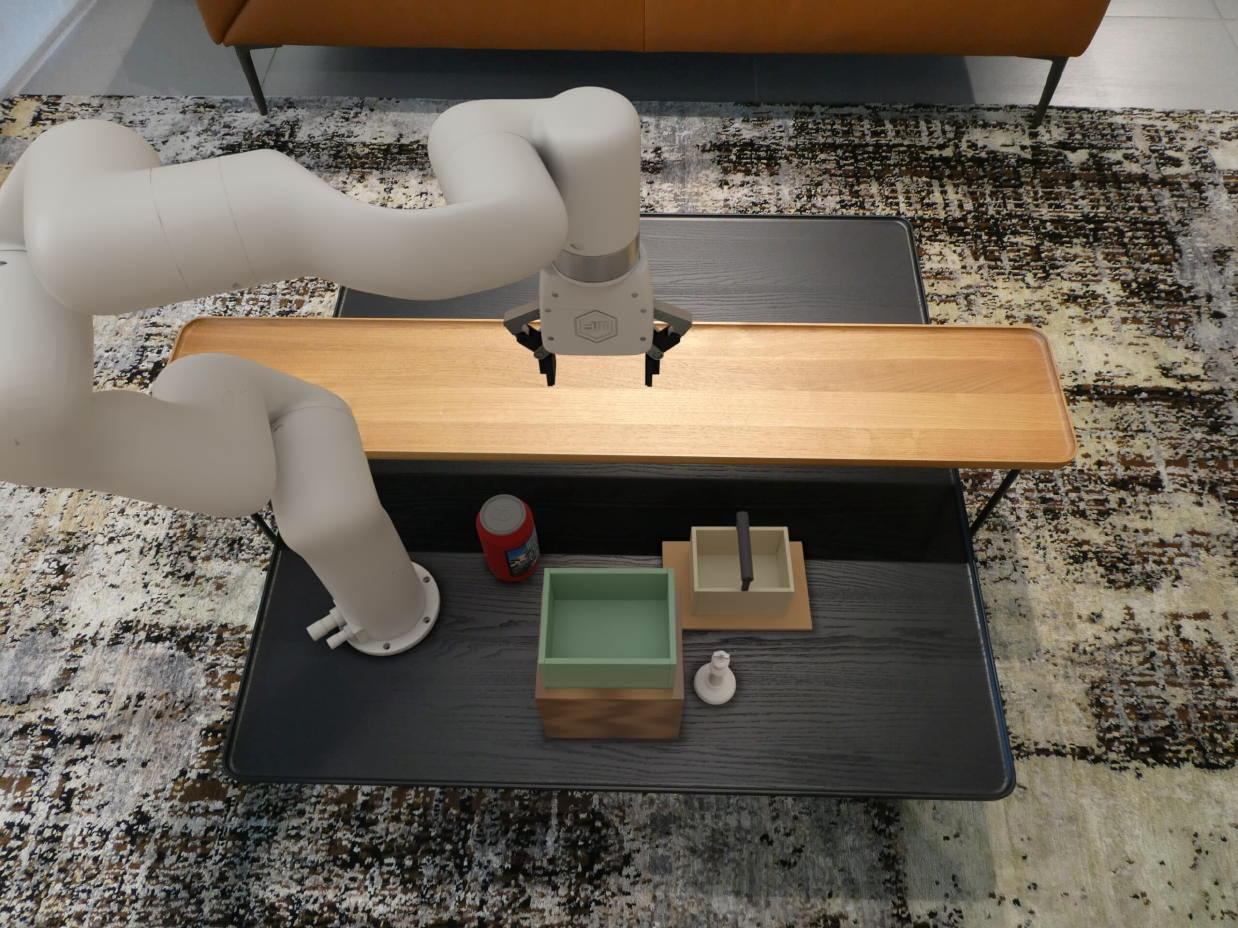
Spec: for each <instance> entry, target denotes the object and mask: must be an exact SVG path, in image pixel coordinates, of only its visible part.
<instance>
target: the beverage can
mask: <svg viewBox="0 0 1238 928" xmlns="http://www.w3.org/2000/svg"><path fill="white" fill-rule="evenodd" d="M475 526H476V530H477V534H478V538H479V541H480V543H481V547H482V550H483V554H484V556H485V560H486V562H487V565H488V568H489V570H490V572H491V573H492V574H493V575H494V576H495V577H497V578H498V579H499V580H502V581H506V582H519V581H522V580H525V579H526V578H528V577H530V576H531V575H532V574H533V573H535V571H536V570H537V568H538V566H539V564H540V560H541V553H540V547H539V541H538V536H537V532H536V531H537V530H536V526H535V520H534V516H533V513H532V511H531V508H530V507H529V505H528V504H527V503H526V502H524V501H523V500H522V499H519V498H518V497H516V496H514V495H511V494H497V495H494V496H492V497H491V498H489V499H488V500H487V501H485V502H484V503H483V505H482V507H481V509H480V510H479V512H478V513H477V516H476V522H475Z"/></svg>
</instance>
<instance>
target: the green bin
mask: <svg viewBox="0 0 1238 928" xmlns="http://www.w3.org/2000/svg"><path fill="white" fill-rule="evenodd" d="M543 569H544V571H543V583H542V584H543V587H542V589H543V599H542V614H541V630H540V645H539V660H538V664H539V668H540V672H541V675H542V679H543V683H544V687H545V688H595V689H674V682H675V674H676V666H677V657H676V623H675V589H674V568H663V567H655V568H654V567H544V568H543Z"/></svg>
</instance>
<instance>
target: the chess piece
mask: <svg viewBox="0 0 1238 928" xmlns="http://www.w3.org/2000/svg"><path fill="white" fill-rule="evenodd" d="M730 657H731V655H730V653H727V652H725V650H717V651H713V654H712V655H711V661H710V662H707V663H705V664H704V665H702V666H701V667H699V668H698V669H697V672H696V673H695V675H694V678H693V687H694V691H695V693H696V695H697V696H698V697H699V698H700V699H701V700H702V701H703V702H705V703H707V704H710V705H723V704H726V703H727V702H728V701H730V700H731V698H733V696H734V695H735V693H736V688H737V683H736V677H735V675H734V673H733V671H732V670H731V669H730V668H729V665H730V661H731V658H730Z"/></svg>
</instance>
